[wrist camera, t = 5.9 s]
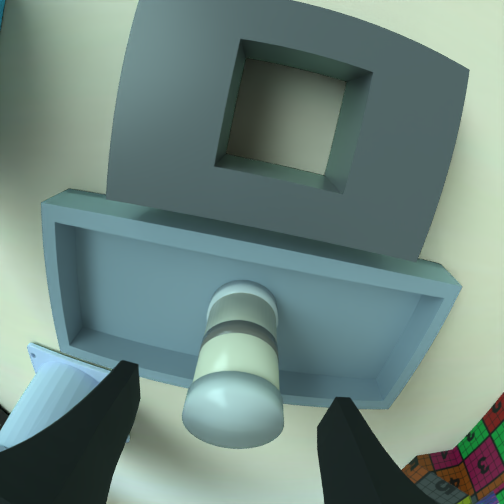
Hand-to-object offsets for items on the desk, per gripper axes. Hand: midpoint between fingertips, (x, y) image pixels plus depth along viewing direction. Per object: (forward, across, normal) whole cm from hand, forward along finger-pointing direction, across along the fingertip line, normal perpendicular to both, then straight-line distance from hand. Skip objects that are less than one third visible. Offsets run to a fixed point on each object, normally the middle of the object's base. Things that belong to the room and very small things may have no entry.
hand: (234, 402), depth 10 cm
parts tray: (+6, 0, 0) cm, 6 cm away
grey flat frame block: (+6, 0, -10) cm, 12 cm away
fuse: (+6, 0, 0) cm, 6 cm away
